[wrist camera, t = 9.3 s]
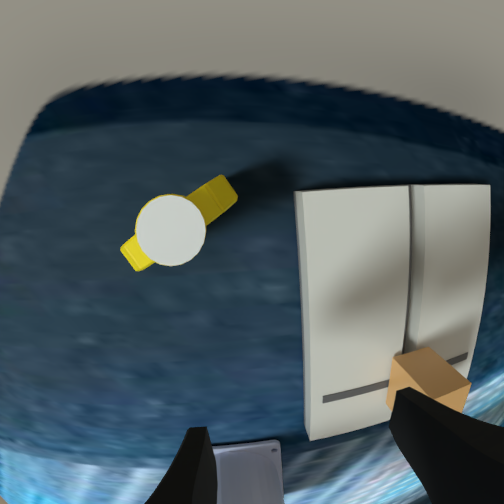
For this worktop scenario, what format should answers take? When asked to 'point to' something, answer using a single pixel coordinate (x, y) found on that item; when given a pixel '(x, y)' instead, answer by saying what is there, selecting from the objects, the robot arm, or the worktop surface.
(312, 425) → the fader console
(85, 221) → the worktop surface
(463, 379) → the fader tab
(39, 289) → the worktop surface
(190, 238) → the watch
